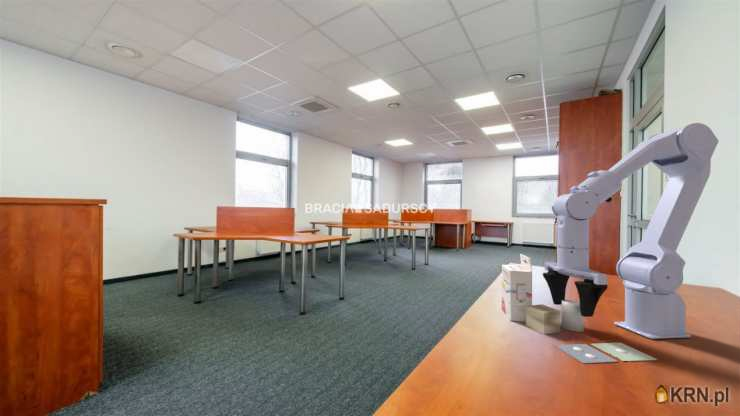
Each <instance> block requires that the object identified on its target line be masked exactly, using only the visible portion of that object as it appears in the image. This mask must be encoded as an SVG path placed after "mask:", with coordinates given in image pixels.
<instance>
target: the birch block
mask: <svg viewBox="0 0 740 416" xmlns="http://www.w3.org/2000/svg"><path fill="white" fill-rule="evenodd" d="M525 325H526V327H528V328H530V329H532V330H534V331H537V332H538V333H540V334H543V335H545V334H546V335H548V334H549V335H550V334H555V333H561V327H562V326H561V310H559V309H556V308H554V307H550V306H548V305H545V304H532V305H530V306H526V322H525Z"/></svg>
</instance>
